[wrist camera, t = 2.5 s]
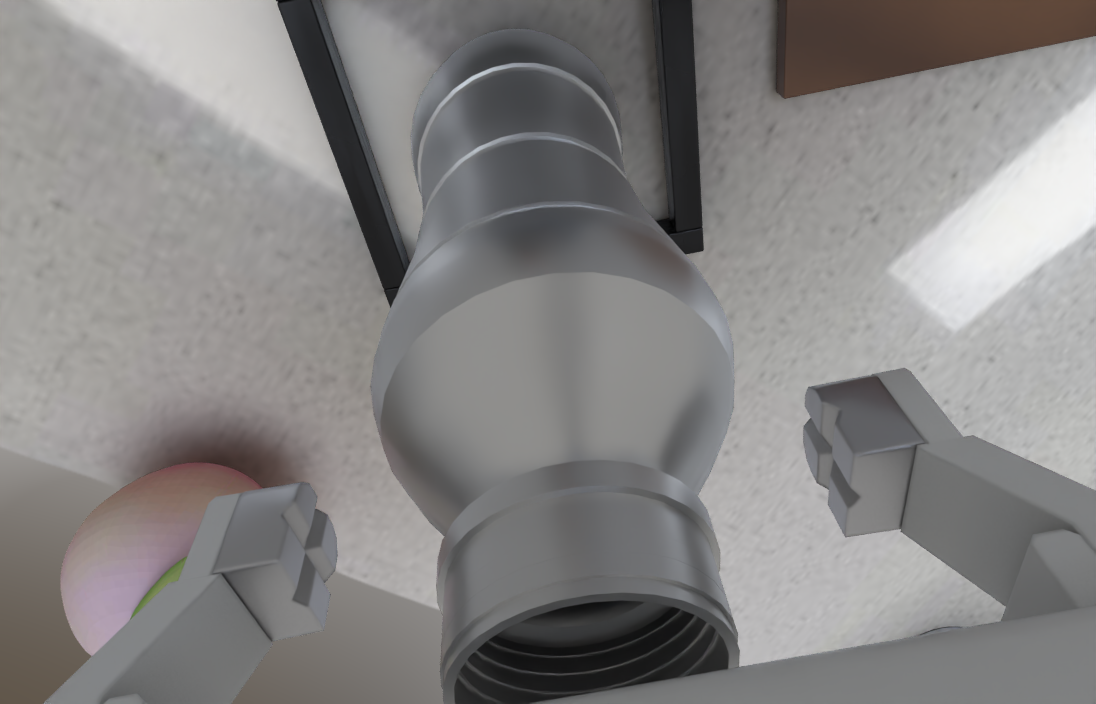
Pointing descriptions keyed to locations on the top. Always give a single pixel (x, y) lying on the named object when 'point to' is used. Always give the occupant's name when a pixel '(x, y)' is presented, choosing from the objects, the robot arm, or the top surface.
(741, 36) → the top surface
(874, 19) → the trivet
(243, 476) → the decorative fruit
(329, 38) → the black flat square frame
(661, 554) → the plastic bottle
